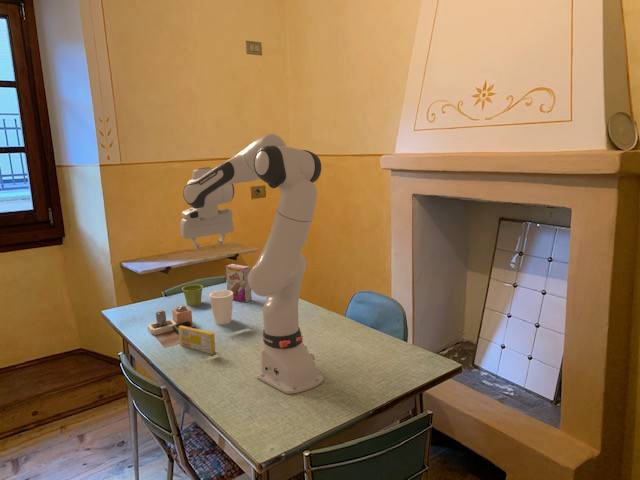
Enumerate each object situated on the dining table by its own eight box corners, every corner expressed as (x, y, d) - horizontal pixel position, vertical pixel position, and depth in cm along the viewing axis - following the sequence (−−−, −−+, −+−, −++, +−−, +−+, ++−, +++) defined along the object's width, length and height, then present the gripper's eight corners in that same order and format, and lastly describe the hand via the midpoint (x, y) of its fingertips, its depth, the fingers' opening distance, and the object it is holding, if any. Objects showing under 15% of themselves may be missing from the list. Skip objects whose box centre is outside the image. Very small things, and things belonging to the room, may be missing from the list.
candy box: (216, 354, 167) (214, 332, 165) (212, 356, 165) (210, 334, 163) (183, 345, 175) (181, 324, 173) (179, 347, 173) (177, 326, 171)
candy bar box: (227, 299, 223) (224, 265, 219) (234, 296, 227) (232, 263, 223) (245, 303, 217) (243, 268, 213) (252, 299, 221) (250, 266, 217)
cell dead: (188, 324, 191) (187, 306, 190) (180, 326, 190) (178, 308, 188) (185, 321, 194) (184, 304, 193) (177, 323, 192) (175, 306, 191)
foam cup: (237, 319, 197) (235, 290, 195) (231, 328, 188) (229, 297, 186) (215, 319, 198) (213, 290, 196) (208, 328, 189) (206, 297, 187)
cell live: (168, 329, 187) (166, 311, 185) (159, 331, 185) (157, 313, 183) (165, 326, 190) (163, 309, 188) (156, 328, 188) (154, 311, 186)
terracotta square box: (192, 324, 191) (191, 310, 190) (178, 328, 188) (176, 313, 187) (187, 319, 196) (186, 306, 195) (173, 323, 193) (171, 309, 191)
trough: (178, 329, 187) (177, 324, 186) (152, 335, 181) (151, 330, 181) (172, 323, 193) (171, 318, 193) (147, 329, 188) (146, 324, 187)
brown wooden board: (207, 338, 179) (206, 331, 179) (164, 350, 171) (164, 342, 170) (187, 321, 197) (186, 314, 196) (148, 330, 188) (147, 323, 188)
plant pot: (181, 304, 218) (180, 286, 216) (202, 300, 222) (200, 283, 220) (185, 310, 210) (183, 292, 208) (206, 306, 214) (205, 288, 212)
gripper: (228, 207, 185) (230, 241, 188) (177, 213, 174) (180, 249, 177) (235, 209, 180) (237, 244, 183) (182, 215, 169) (186, 252, 172)
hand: (209, 246), depth 180 cm, fingers open, 8 cm apart
